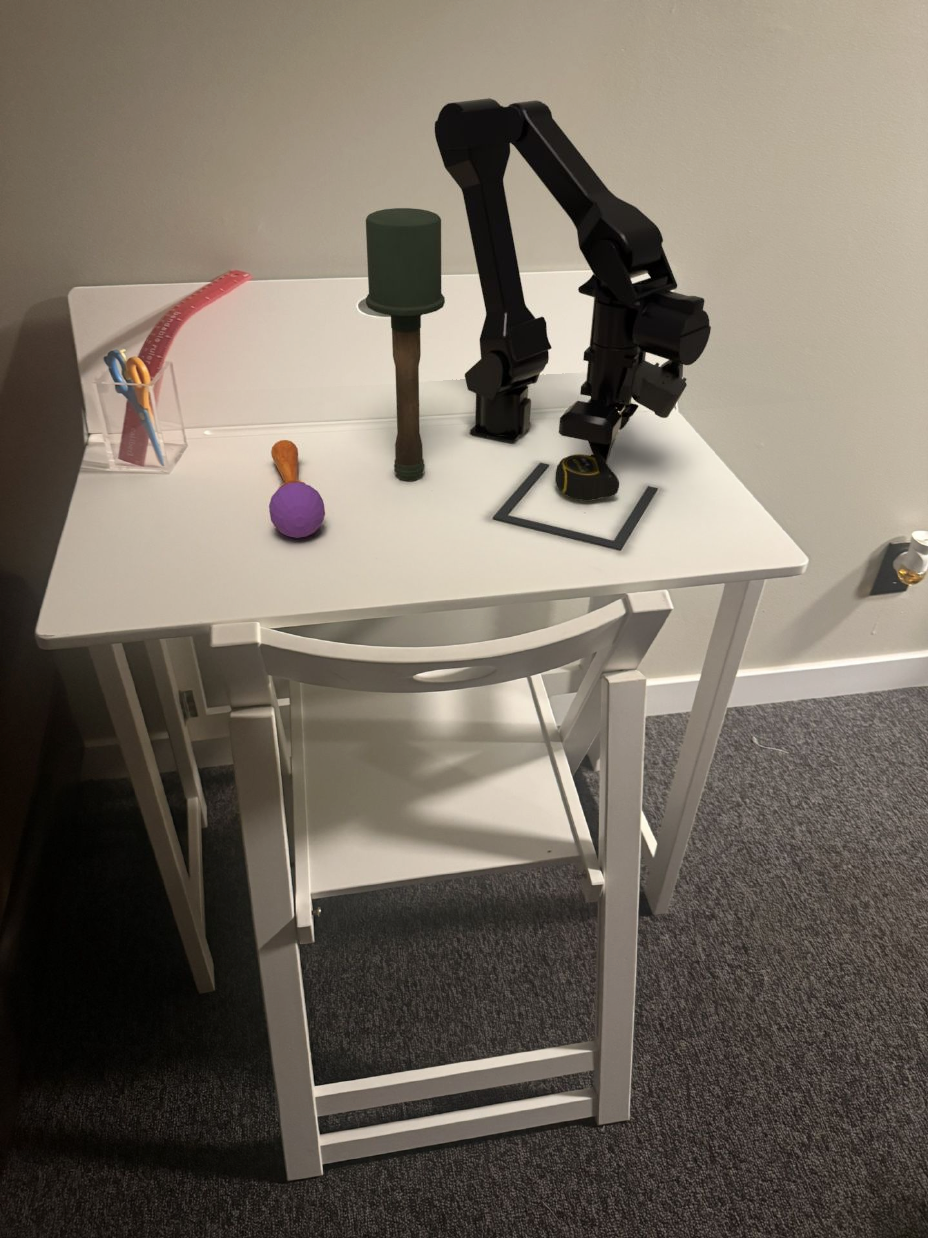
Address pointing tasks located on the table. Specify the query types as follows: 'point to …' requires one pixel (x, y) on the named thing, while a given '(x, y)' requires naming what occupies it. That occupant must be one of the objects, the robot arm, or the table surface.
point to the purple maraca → (294, 496)
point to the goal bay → (616, 544)
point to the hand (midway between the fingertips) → (601, 463)
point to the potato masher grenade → (405, 309)
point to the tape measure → (586, 477)
